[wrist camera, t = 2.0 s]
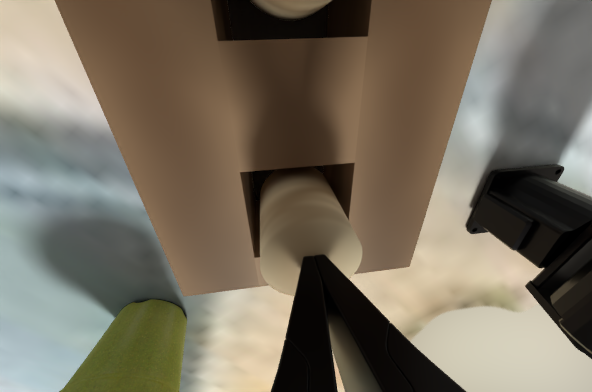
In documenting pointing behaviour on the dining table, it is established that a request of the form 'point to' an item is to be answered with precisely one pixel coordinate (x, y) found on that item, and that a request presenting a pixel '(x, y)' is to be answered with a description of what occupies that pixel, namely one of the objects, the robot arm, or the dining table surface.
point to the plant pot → (136, 352)
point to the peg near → (290, 8)
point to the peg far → (302, 227)
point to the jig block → (277, 118)
